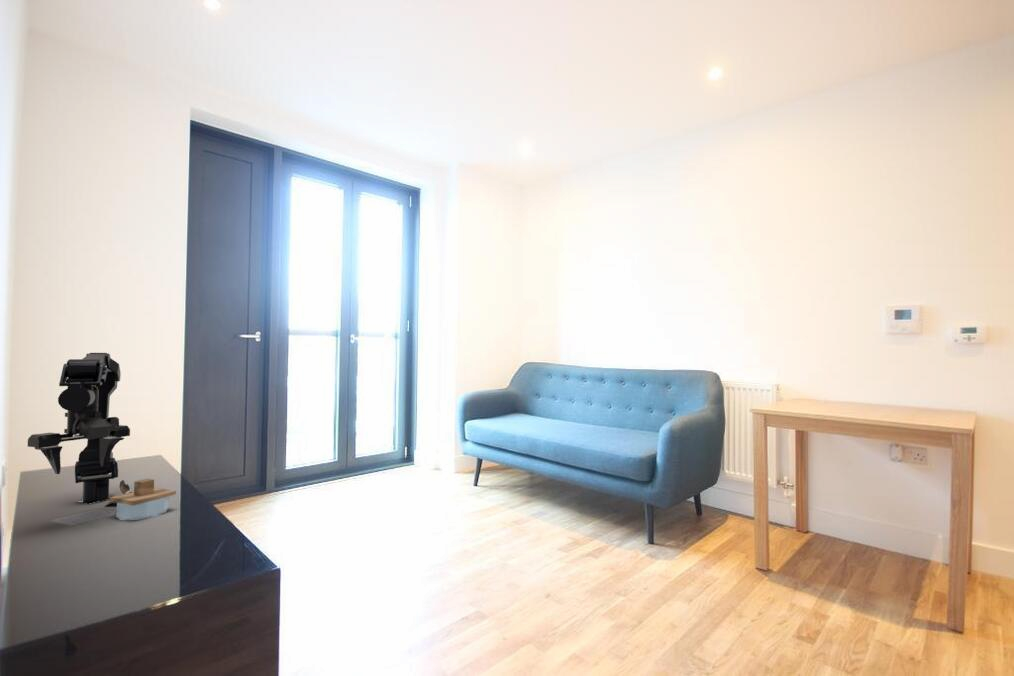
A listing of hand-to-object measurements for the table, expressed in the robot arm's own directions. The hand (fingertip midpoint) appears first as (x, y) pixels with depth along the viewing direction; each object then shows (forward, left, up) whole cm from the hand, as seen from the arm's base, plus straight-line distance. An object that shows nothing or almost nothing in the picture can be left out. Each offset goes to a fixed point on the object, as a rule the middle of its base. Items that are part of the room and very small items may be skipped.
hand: (81, 469), depth 116 cm
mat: (-2, +2, -13) cm, 13 cm away
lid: (+10, +9, -8) cm, 16 cm away
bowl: (+10, +9, -13) cm, 19 cm away
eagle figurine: (-6, +13, -13) cm, 20 cm away
